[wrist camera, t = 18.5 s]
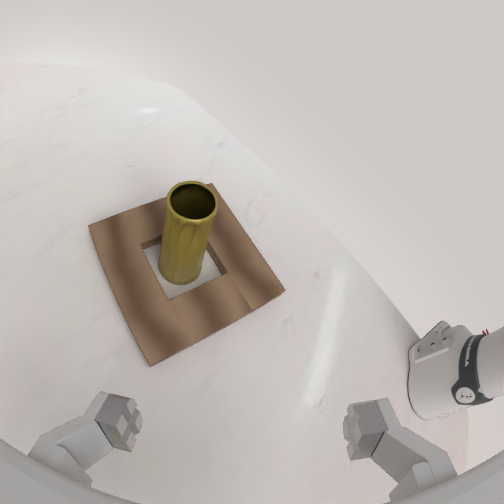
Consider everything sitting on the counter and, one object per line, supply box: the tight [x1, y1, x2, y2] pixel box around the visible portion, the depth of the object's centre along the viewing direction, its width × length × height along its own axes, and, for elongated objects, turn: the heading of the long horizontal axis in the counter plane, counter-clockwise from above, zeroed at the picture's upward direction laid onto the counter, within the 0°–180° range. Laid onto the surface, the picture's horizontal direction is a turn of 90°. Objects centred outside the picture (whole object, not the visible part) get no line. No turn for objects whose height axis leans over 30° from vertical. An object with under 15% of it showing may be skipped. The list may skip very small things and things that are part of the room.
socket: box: [88, 183, 285, 367], centre depth 38 cm, size 21×21×2 cm
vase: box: [158, 181, 218, 285], centre depth 33 cm, size 6×6×14 cm
